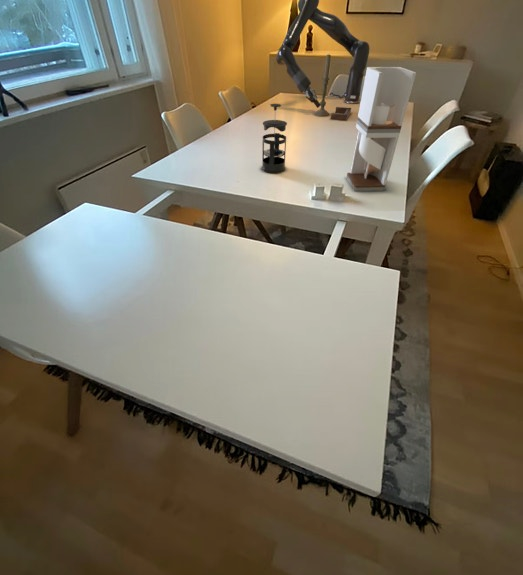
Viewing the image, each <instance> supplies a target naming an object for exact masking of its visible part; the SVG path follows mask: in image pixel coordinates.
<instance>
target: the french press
mask: <svg viewBox="0 0 523 575" xmlns="http://www.w3.org/2000/svg"><path fill="white" fill-rule="evenodd" d="M269 107H271V108H272V107H273V111H274V119H268V120H265V121H263V122H262V125H263V130H264V131H268V130H269V129H270V128H273V133H267V134H264V135H263V136H262V156H261V158H262V162H261V163H262V166H261V170H262V171H263V172H265V173H267V174H280V173H282V172H285V170H286V153H287V152H286V150H287V136H286V135H284V134H281V133H279V132H282V133H283V132H285V131H286V127H287V125H288V122H287V121H285V120H281V119H276V117H277V116H276V115H277V114H276V113H277V108H280V107H282V104H280V103H270V104H269ZM276 130H278V131H279V132H276ZM271 138H273V140H270V139H271ZM265 144H267V145H269V148H267V149H265ZM283 144H284V150H283V149H280V145H283Z"/></svg>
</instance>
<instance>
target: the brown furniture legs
mask: <svg viewBox="0 0 523 575" xmlns="http://www.w3.org/2000/svg"><path fill="white" fill-rule="evenodd" d="M334 111H335V112H331V113H330V120H333V121H342V122H343V121H344V122H346V121H347V120H348V118H349V117H350V116H351V112H352V107H346V106H345V107H344V106H336V107H335V110H334Z"/></svg>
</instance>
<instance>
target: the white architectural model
mask: <svg viewBox="0 0 523 575" xmlns="http://www.w3.org/2000/svg"><path fill="white" fill-rule="evenodd" d="M416 76H417V72H415V71H413V70H410V69H407V68H405V67H403V66H366V69H365V76H364V81H363V86H362V92H361V97H360V103H359V108H358V114H357V119H356V124H355V128H356V129H357V130H358V131H357V138H356V142H355V146H354V152H353V156H352V163H351V168H350V172H346V180H347V181H348V183H349V184H350V186H351V188H352V189H353V191H354V192H375V191H376V192H377V191H379V192H381V191H382V192H383V191H385V189H386V185H387V181H388V177H389V174H390V170H391V167H392V163H393V159H394V155H395V152H396V148H397V144H398V142H399V138H400V134H401V131H402V130H401V129H402V126H403V123H404V119H405V115H406V113H407V108H408V104H409V101H410V98H411V93H412V90H413V86H414V83H415V79H416Z"/></svg>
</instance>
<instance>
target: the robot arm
mask: <svg viewBox="0 0 523 575" xmlns="http://www.w3.org/2000/svg"><path fill="white" fill-rule="evenodd" d="M319 4H320V0H298V2H297V9H298V15H297V16H296V17H295V19H294V20H293V22H292V24H291V25H290V27H289V29H288V30H287V32H286V35H285V37H284V39H283V42H282V43H281V46H280V47H279V49H278V51H277V53H276V56H275V61H276V63H277V64H278V65H279V66H284V65H285V66H286V73H287V74H288V77H290V79H291V80H292V82H293V84H294V85H295V87H296V88H297V89H298V90H299V93H300V94H301V93H303V92H304V95H305V98H306V99H307V100H308V101H309V102H310V103H313V104H314V105H315V107H316V108H317V109H318V108H320V107H321V106H320V102H319V100H318V96H317V94H316V91H315V90H314V89H313V88H312V87H311V86H310V85H311V84H312V82H311V80H310V78H308V76H307V75H306V73H305V72H304V71H303V69H302V68H301V67H300V65H299V64H298V62H297V60H296V57H295V55H294V53H293V49H294V48H295V47H296V45H297V43H298V41H299V38H300V36H301V35H302V33H303V31H304V28H305V27H306V26H307V23H308V21H310V22H312V23H313V24H315V25H316V26H317V27H318V28H319V29H321V31H323V32H324V33H326V35H327V36H329V37H330V38H331V39H332V40H334V41H335V42H336V43H337V44H339V45H341V47H343V48H344V49H345V51H347V52H348V54H350V55H351V57H352V58H353V63H352V65H350V67H349V72H348V79H347V84H346V88H345V89H346V90H345V92H344V93H343V95H339V94H334V93H333V92H330V93H329V95H332V96H334V97H338V98H339V99H342V98H344V103H346V104H360V103H359V102H360V98H361V97H360V96H361V90H362V87H363V86H362V85H363V80H364V74H365V71H366V69H367V65H368V60H369V56H370V44H369V42H367V41H365V40H360V39H359V38H357V37H356V36H354V35H353V33H351V32H350V30H349V29H348V27H347V25H346V23H345V22H343V21H342V20H341V19H340V18H339V17H338V16H337V15H335V14H332V13H329V12H325V11H322V10H321V9H319V8H318V7H319Z"/></svg>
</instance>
